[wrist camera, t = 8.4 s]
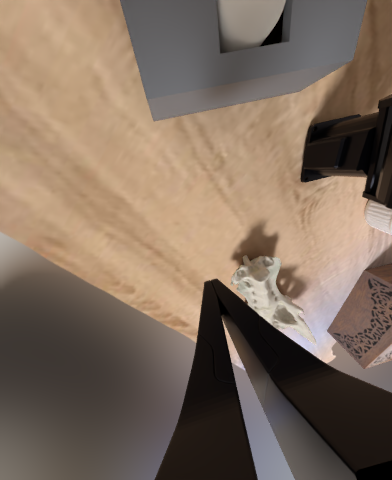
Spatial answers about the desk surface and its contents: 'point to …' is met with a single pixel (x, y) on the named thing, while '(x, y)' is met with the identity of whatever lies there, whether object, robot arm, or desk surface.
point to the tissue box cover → (367, 318)
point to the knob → (246, 22)
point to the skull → (269, 294)
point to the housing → (234, 53)
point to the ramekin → (378, 216)
